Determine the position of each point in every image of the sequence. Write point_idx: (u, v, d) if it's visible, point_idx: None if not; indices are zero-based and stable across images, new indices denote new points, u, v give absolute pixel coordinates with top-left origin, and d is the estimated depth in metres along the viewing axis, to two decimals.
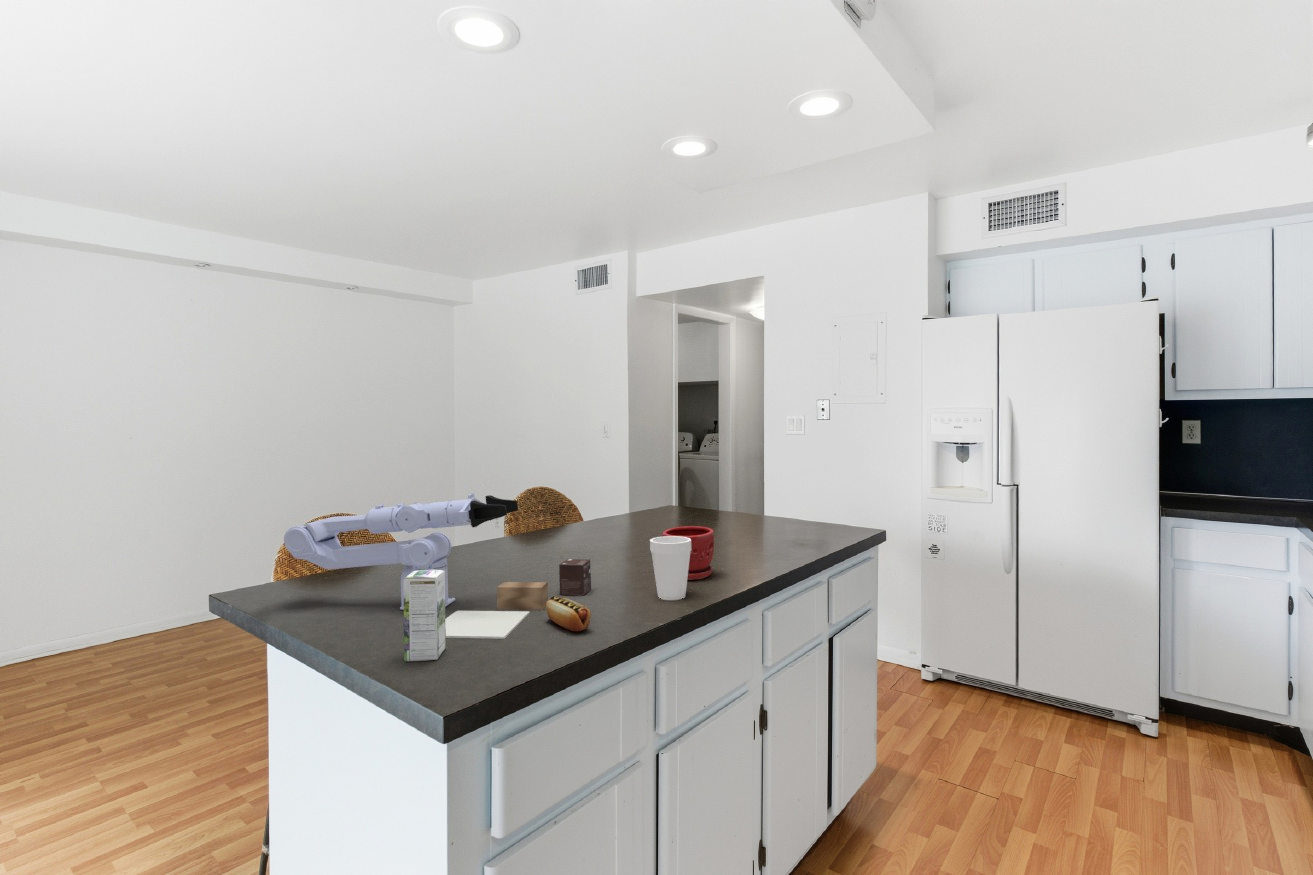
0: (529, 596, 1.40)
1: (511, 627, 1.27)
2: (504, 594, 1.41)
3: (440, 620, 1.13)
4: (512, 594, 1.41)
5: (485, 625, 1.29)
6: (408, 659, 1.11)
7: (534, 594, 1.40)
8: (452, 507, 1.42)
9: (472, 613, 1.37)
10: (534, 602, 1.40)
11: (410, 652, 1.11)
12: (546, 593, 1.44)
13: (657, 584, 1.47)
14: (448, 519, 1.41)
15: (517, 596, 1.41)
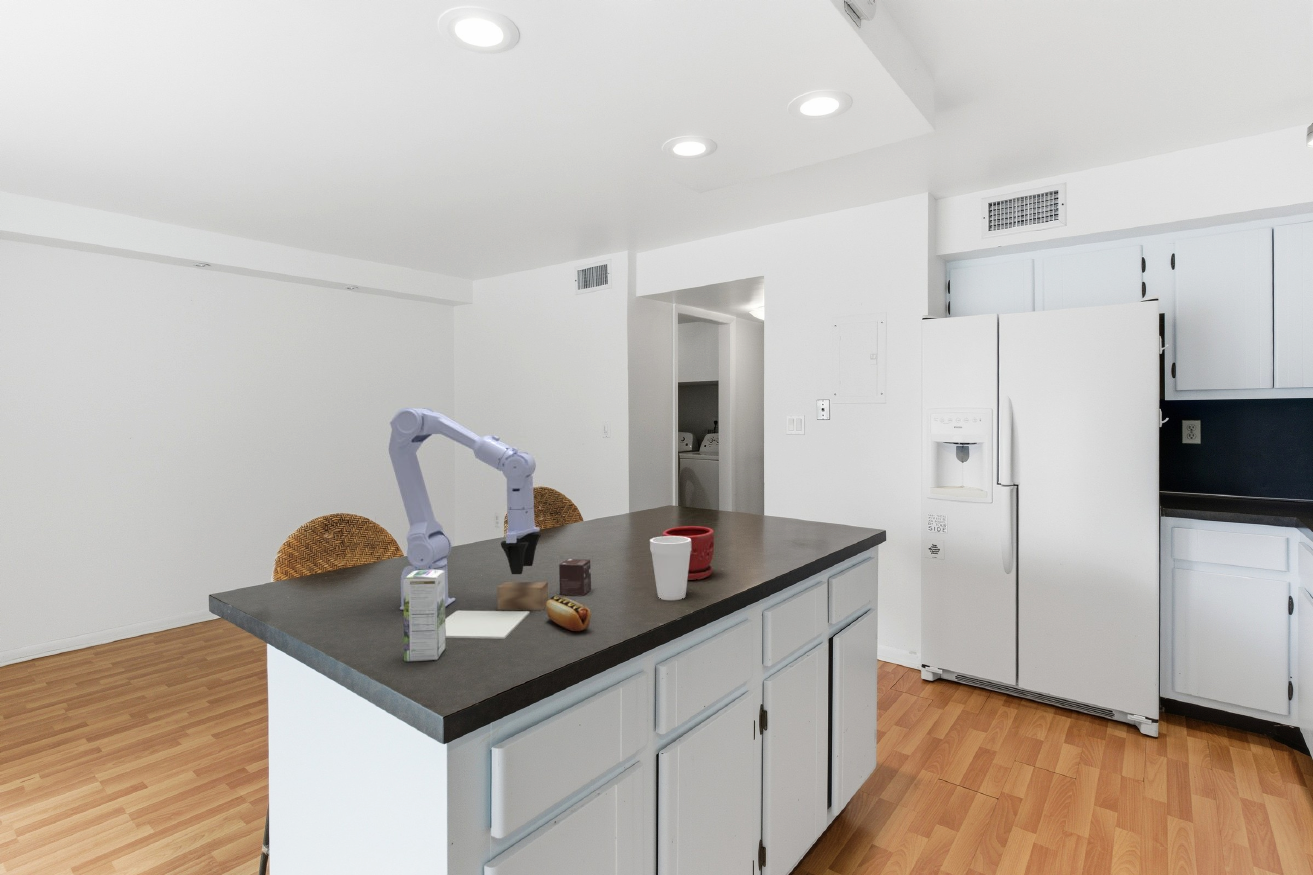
0: (529, 596, 1.40)
1: (511, 627, 1.27)
2: (504, 594, 1.41)
3: (440, 620, 1.13)
4: (512, 594, 1.41)
5: (485, 625, 1.29)
6: (408, 659, 1.11)
7: (534, 594, 1.40)
8: (524, 515, 1.40)
9: (472, 613, 1.37)
10: (534, 602, 1.40)
11: (410, 652, 1.11)
12: (546, 593, 1.44)
13: (657, 584, 1.47)
14: (512, 510, 1.40)
15: (517, 596, 1.41)
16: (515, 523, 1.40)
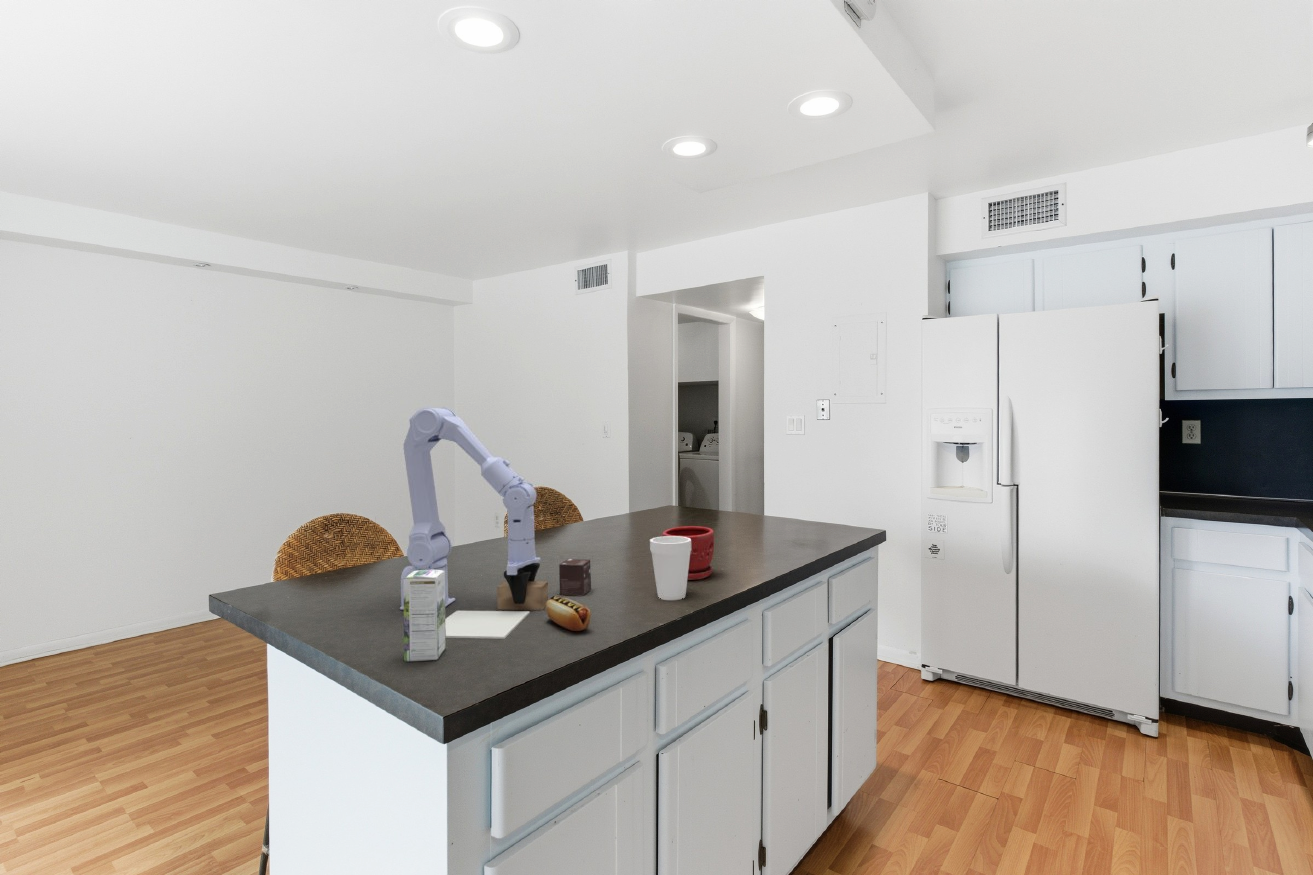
0: (529, 595, 1.40)
1: (511, 627, 1.27)
2: (504, 593, 1.41)
3: (440, 621, 1.13)
4: None
5: (485, 625, 1.29)
6: (408, 659, 1.11)
7: (534, 593, 1.40)
8: (525, 545, 1.40)
9: (472, 613, 1.37)
10: (534, 601, 1.40)
11: (410, 652, 1.11)
12: (546, 592, 1.44)
13: (657, 584, 1.47)
14: (513, 541, 1.40)
15: None
16: (516, 554, 1.40)
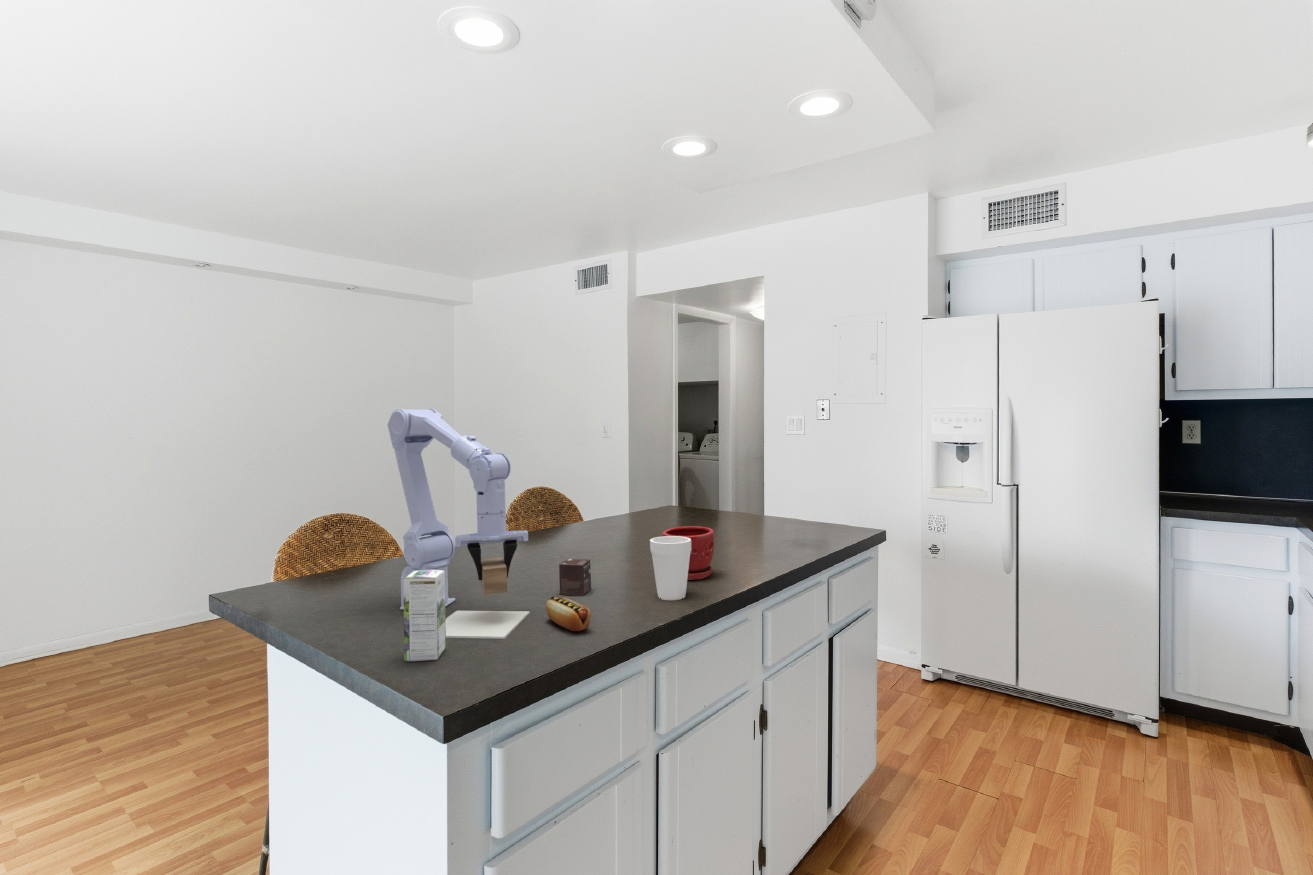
0: (482, 576, 1.31)
1: (511, 627, 1.27)
2: None
3: (440, 620, 1.13)
4: None
5: (485, 625, 1.29)
6: (408, 659, 1.11)
7: None
8: (480, 520, 1.32)
9: (472, 613, 1.37)
10: (483, 583, 1.30)
11: (410, 652, 1.11)
12: (501, 578, 1.30)
13: (657, 584, 1.47)
14: (477, 513, 1.34)
15: None
16: (477, 527, 1.34)
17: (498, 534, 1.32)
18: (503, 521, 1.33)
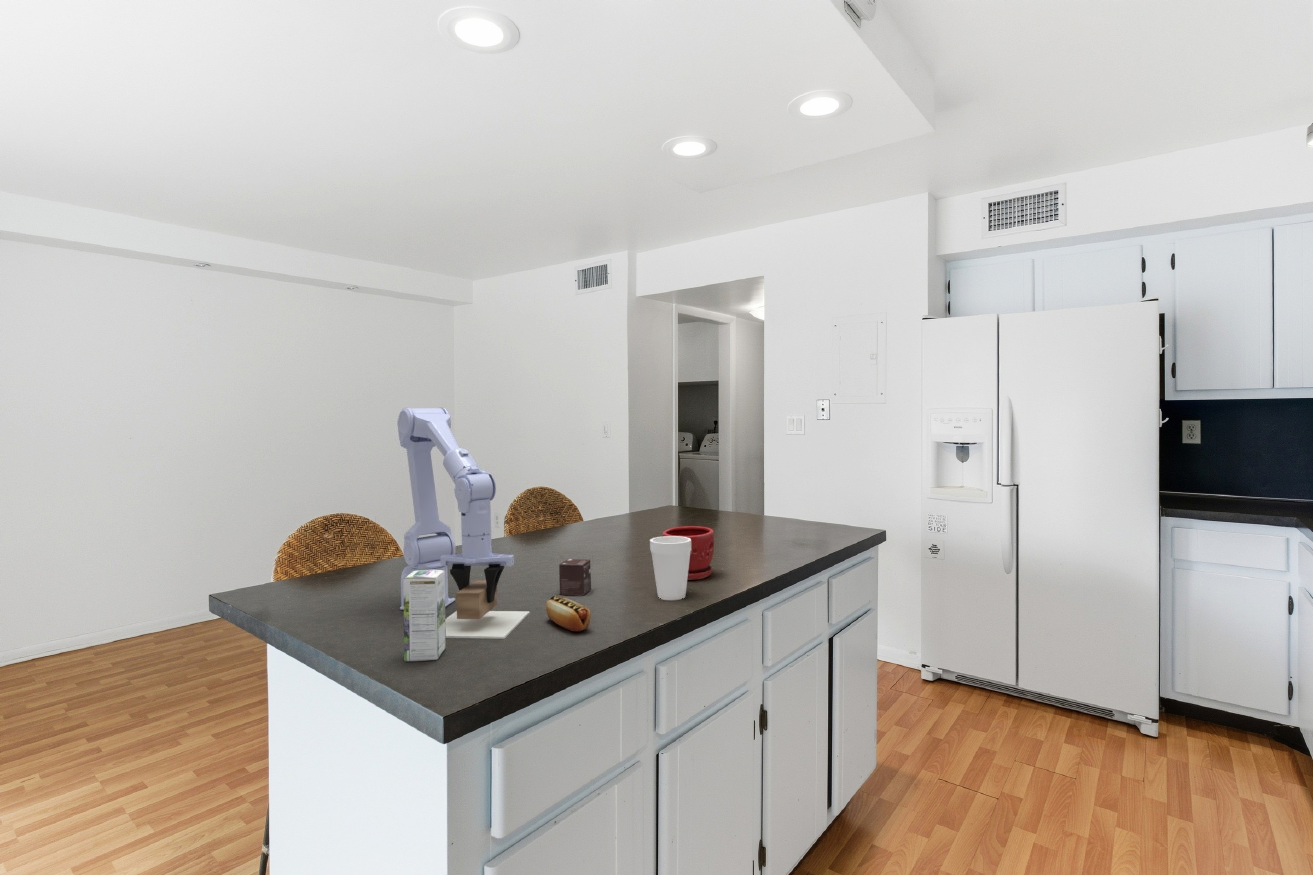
0: None
1: (511, 627, 1.27)
2: None
3: (440, 620, 1.13)
4: None
5: (485, 625, 1.29)
6: (408, 659, 1.11)
7: None
8: (462, 541, 1.29)
9: None
10: None
11: (410, 652, 1.11)
12: (473, 604, 1.25)
13: (657, 584, 1.47)
14: None
15: None
16: None
17: (477, 557, 1.27)
18: (484, 544, 1.28)
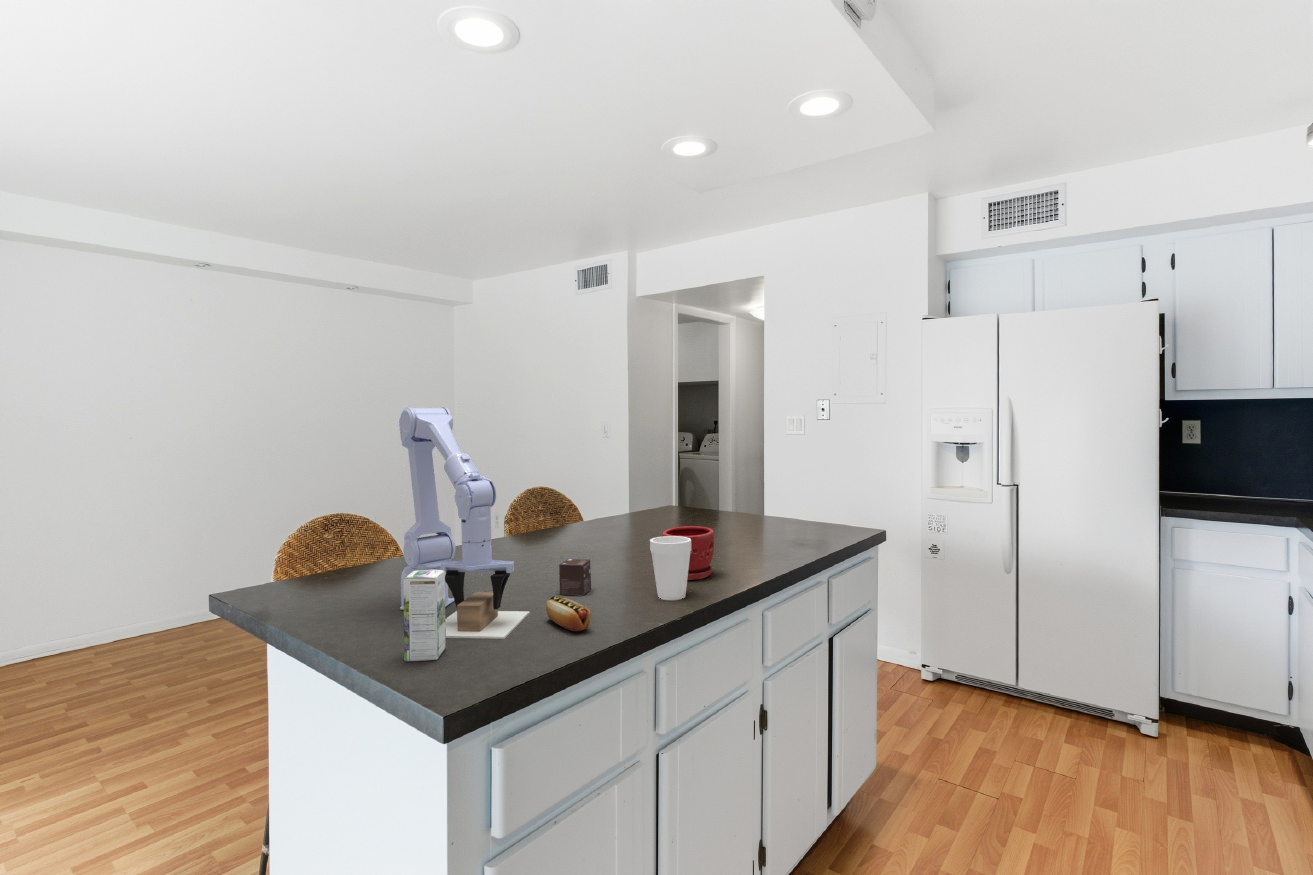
0: None
1: (511, 627, 1.27)
2: None
3: (440, 620, 1.13)
4: None
5: None
6: (408, 659, 1.11)
7: None
8: (462, 547, 1.29)
9: None
10: None
11: (410, 652, 1.11)
12: (474, 617, 1.25)
13: (657, 584, 1.47)
14: None
15: None
16: None
17: (477, 564, 1.27)
18: (484, 551, 1.28)
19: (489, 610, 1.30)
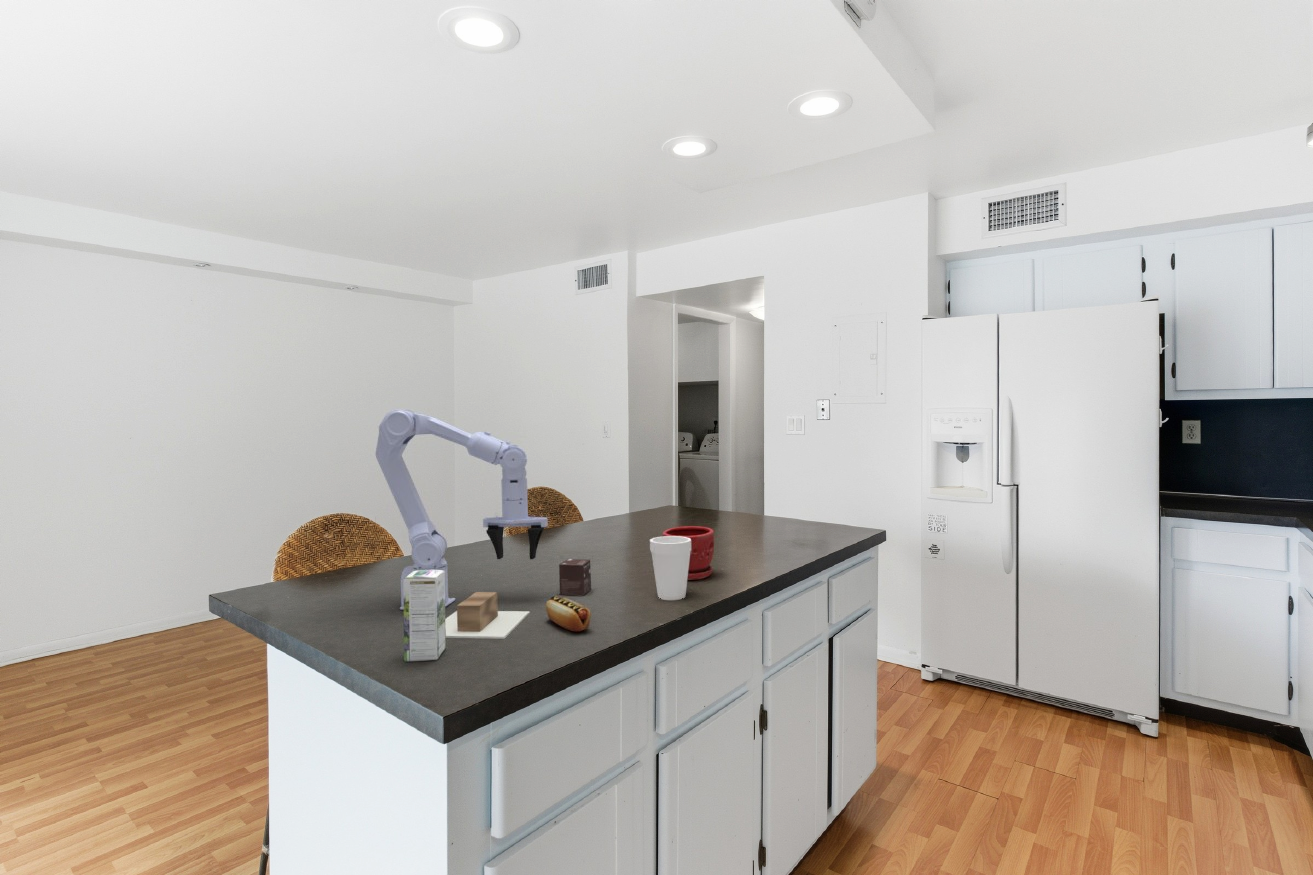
0: None
1: (511, 627, 1.27)
2: None
3: (440, 620, 1.13)
4: None
5: None
6: (408, 659, 1.11)
7: None
8: (502, 505, 1.47)
9: None
10: None
11: (410, 652, 1.11)
12: (474, 617, 1.25)
13: (657, 584, 1.47)
14: None
15: None
16: None
17: (516, 519, 1.45)
18: (522, 507, 1.46)
19: (489, 610, 1.30)
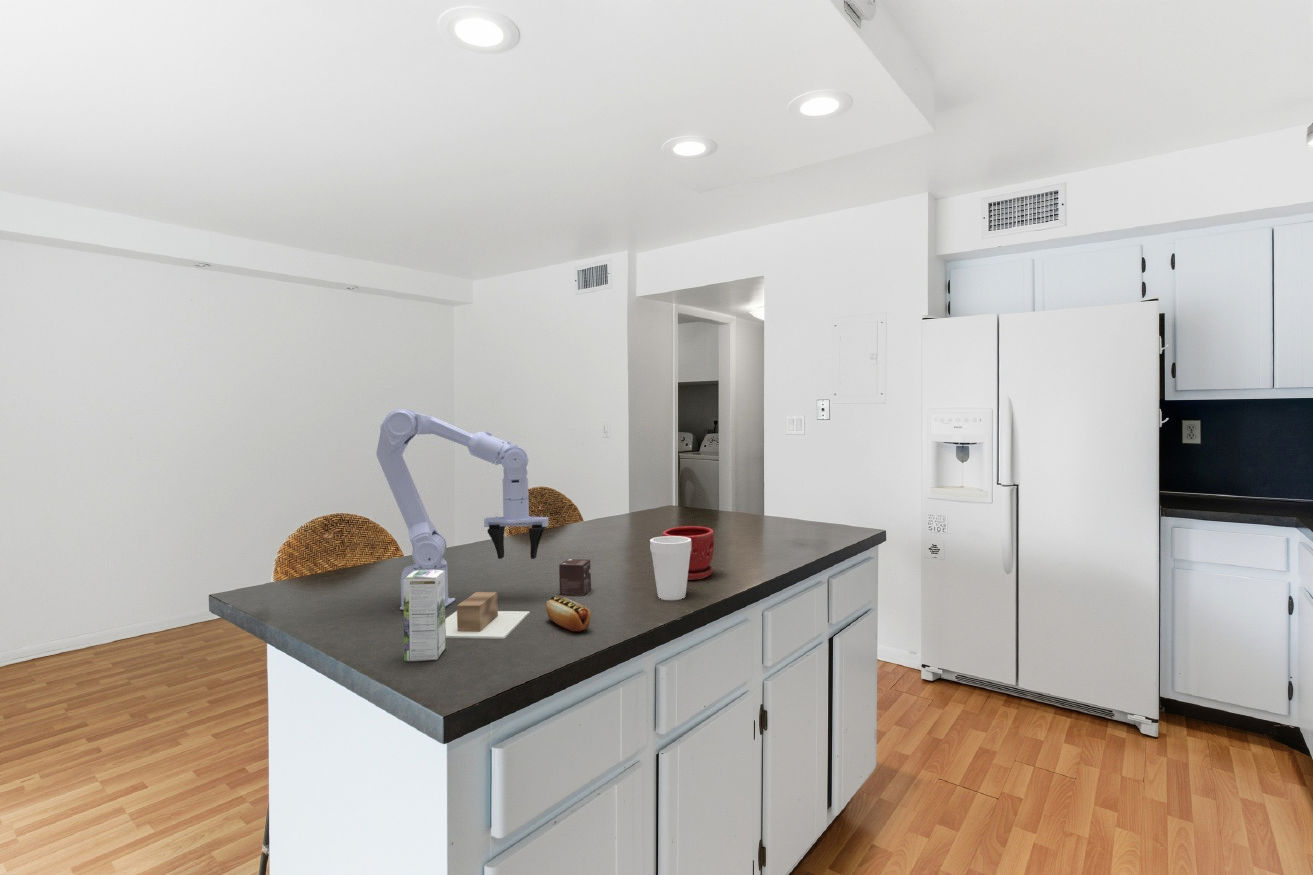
0: None
1: (511, 627, 1.27)
2: None
3: (440, 620, 1.13)
4: None
5: None
6: (408, 659, 1.11)
7: None
8: (503, 504, 1.47)
9: None
10: None
11: (410, 652, 1.11)
12: (474, 617, 1.25)
13: (657, 584, 1.47)
14: None
15: None
16: None
17: (517, 518, 1.46)
18: (523, 507, 1.47)
19: (489, 610, 1.30)
